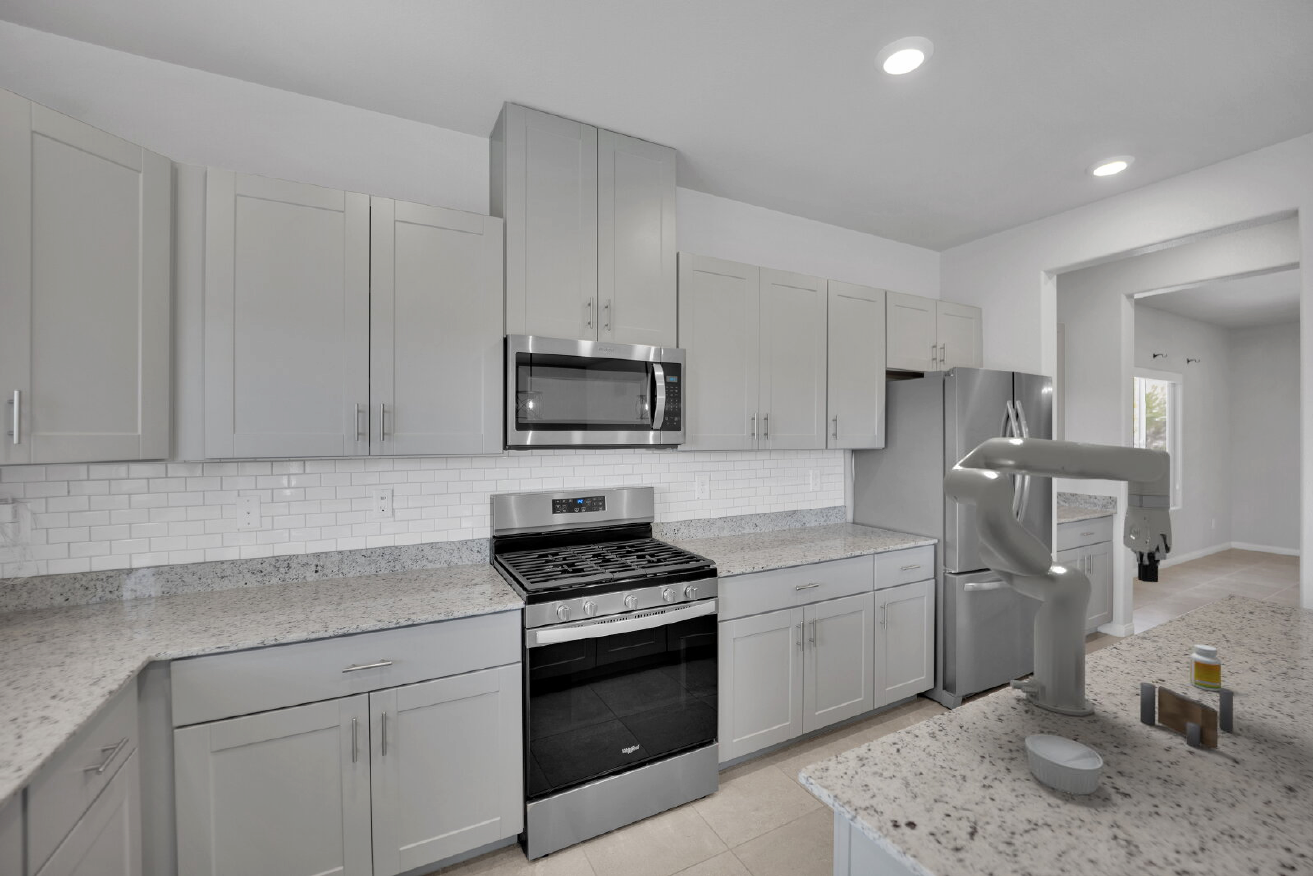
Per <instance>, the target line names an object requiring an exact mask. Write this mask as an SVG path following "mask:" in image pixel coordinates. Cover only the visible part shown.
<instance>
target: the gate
mask: <svg viewBox="0 0 1313 876" xmlns="http://www.w3.org/2000/svg"><path fill="white" fill-rule="evenodd" d="M1218 711H1219V710H1218ZM1218 711H1217V710H1216V709H1215V708H1214V707H1211V706H1210V705H1207V704H1205V703H1202V702H1199V701H1198V700H1195V699H1193V698H1190V697H1188V696H1186V695H1183V694H1181V693H1180V692H1177V691H1175V690H1172V689H1169V688H1166V687H1164V686H1162V685H1161V686H1159V687H1158V688H1157V723H1159V724H1161V725H1163V726H1164V727H1167V728H1168V729H1170V730H1172V731H1174V732H1177V733H1179V734H1181V735H1183V736H1185V737H1187V722H1192V723H1196V724H1198V725H1200V726H1201V745H1203V746H1204V747H1206V748H1209V749H1217V748H1218V716H1219V715H1218V714H1219V713H1218Z"/></svg>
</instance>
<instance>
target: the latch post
mask: <svg viewBox="0 0 1313 876" xmlns="http://www.w3.org/2000/svg"><path fill="white" fill-rule="evenodd" d="M1218 692H1219V698H1218V699H1219V704H1218V705H1219V709H1218V711H1219V713H1218V714H1219V715H1218V716H1219V723H1218V725H1219V726H1218V727H1219V728H1220V729H1221V730H1220V729H1219V728H1218V729H1219V730H1220V731H1222V730H1223V732H1225V731H1226V733H1233V732H1234V692H1233V691H1231V690H1229V689H1224V688H1221V689H1220V690H1219V691H1218Z"/></svg>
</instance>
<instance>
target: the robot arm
mask: <svg viewBox="0 0 1313 876" xmlns="http://www.w3.org/2000/svg"><path fill="white" fill-rule="evenodd" d="M1006 474H1008V475H1019V476H1030V477H1040V478H1041V477H1044V478H1053V479H1054V478H1055V479H1069V480H1103V481H1105V480H1106V481H1116V482H1117V481H1118V482H1127V508H1126V512H1125V514H1124V525H1123V536H1122V537H1123V538H1122V541H1123V545H1124V546H1125V547H1126V548H1127V549H1130V551H1131V552H1132V553H1134V554H1135V556H1136V558H1135V559H1136V562H1137V579H1138V581H1141V582H1144V583H1158V582H1159V566H1160V564H1161V561H1165V560H1167V554H1169V553H1171V551H1172V547H1173V546H1172V545H1173V539H1172V538H1173V537H1172V525H1171V515H1170V511H1171V508H1170V507H1171V495H1170V494H1171V456H1170V454H1169V451H1166V450H1163V449H1151V448H1142V447H1134V446H1133V447H1132V446H1118V445H1105V444H1095V443H1089V442H1088V443H1087V442H1079V441H1068V440H1055V439H1045V438H1036V437H1035V438H1033V437H1023V436H1022V437H1017V436H1016V437H1014V436H1013V437H992V438H988V439H986V440H985V441H983V442H982V443H980V444H979V445H978V446H976V447H974V449H973V450H971V451H970V452H969V453H968V454H966V455H965V456H964V457H962V458H961V460H960V461H958V462H957V463H956V464H954V466H952V467H951V468H950V469H949V471H947V473H945V475H944V477H943V481H942V490H943V492H944V494H945V496H946V497H947V499H950V500H951V501H952V502H955V503H957V504H963V505H969V506H975V507H976V508H975V513H974V514H975V515H974V531H975V533H976V536H977V537H978V539H979V540H978V542H977V552H978V556H979V558H980V560H981V561H982V563H983V564H984V565H985V566H986V567H987V568H988V569H990V571H992V572H993V573H994V574H995V575H996V576H997V577H999V579H1001V580H1002V581H1003V582H1004V583H1006V585H1008V587H1010V588H1012V589H1013V590H1015V592H1018V593H1019V594H1022V595H1025V596H1027V597H1030V598H1033V599H1036V600H1039V601H1040V602H1042V604H1041V606H1040V608H1039V610H1038V611H1037V612H1036V614H1035V616H1034V617H1035V618H1034V622H1033V631H1034V632H1033V676H1032V675H1031V676H1028V679H1025V680H1024V681H1023V680H1022V681H1021V680H1015V679H1011V680H1010V681H1009V684H1010V685H1009V686H1010V688H1011V687H1012V688H1011V689H1012V690H1020V692H1021V693H1022V694H1025V697H1026V698H1027V700H1028V701H1029V702H1031V703H1032V704H1034V705H1035V706H1037V707H1040V708H1042V709H1045V710H1048V711H1051V712H1054V713H1058V714H1061V715H1069V716H1079V717H1080V716H1088V715H1091V714H1092V713H1094V709H1095V708H1094V704H1093V702H1092V701H1090V700H1089V699H1088V698H1086V625H1087V623H1086V622H1087V621H1086V620H1087V613H1088V612H1087V611H1088V607H1089V604H1090V601H1091V596H1092V583H1091V581H1090V579H1089V577H1088V576H1087V575H1086V574H1085V573H1084V571H1081V570H1080V569H1079V568H1076V567H1074V566H1072V565H1069V564H1066V563H1061V562H1057V561H1054V560H1053V556H1052V554H1051V552H1050V550H1049V549H1048V547H1047V545H1046V544H1044V543H1043V542H1042V541H1041V540H1040V539H1039V538H1037V536H1036V535H1034V534H1033V533H1032V532H1030V530H1028V529H1027V528H1026V527H1025V526H1024V525H1023V524H1021V523H1020V522H1019V521H1018V520H1017V518H1016V517H1015V515H1014V500H1015V499H1014V498H1015V488H1014V484H1013V482H1012V480H1011V479H1010V478H1009V476H1008V475H1006ZM1025 681H1028V682H1025Z"/></svg>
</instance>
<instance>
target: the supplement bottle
mask: <svg viewBox="0 0 1313 876" xmlns="http://www.w3.org/2000/svg"><path fill="white" fill-rule="evenodd" d="M1193 648H1194V649H1193V650H1194V652H1193V653H1192V654H1191V655H1190V658H1189V659H1190V660H1189V661H1190V667H1189V668H1190V671H1189V672H1190V684H1191V685H1192V686H1193V687H1196V688H1198V687H1199V688H1198V689H1200V690H1205V691H1209V692H1219V690H1220V689H1222V661H1221V659H1220V658H1219V657H1217V655H1218V650H1217V648H1216V647H1213V646H1212V645H1211V646H1210V645H1205V644H1199V643H1197V644H1194V647H1193Z"/></svg>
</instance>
